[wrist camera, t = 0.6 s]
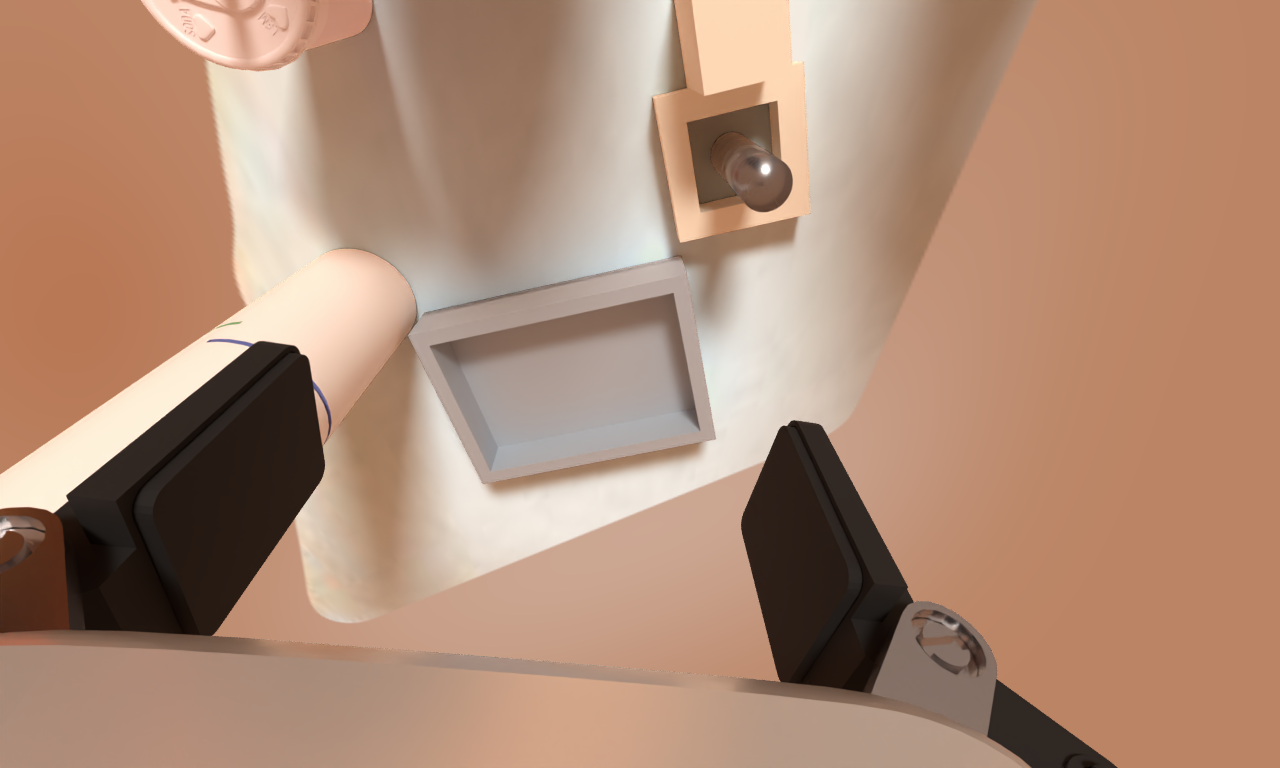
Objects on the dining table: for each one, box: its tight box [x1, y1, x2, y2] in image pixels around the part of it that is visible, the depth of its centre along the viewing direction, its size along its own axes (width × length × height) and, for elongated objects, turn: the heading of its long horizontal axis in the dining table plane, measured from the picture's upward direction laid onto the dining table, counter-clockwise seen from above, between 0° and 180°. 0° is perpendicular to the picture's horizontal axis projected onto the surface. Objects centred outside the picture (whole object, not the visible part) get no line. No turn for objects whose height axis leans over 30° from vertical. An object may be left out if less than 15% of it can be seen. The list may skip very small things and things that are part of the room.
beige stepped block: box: [652, 0, 810, 243], centre depth 28 cm, size 8×12×7 cm, turn 12°
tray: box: [408, 256, 716, 484], centre depth 38 cm, size 18×13×4 cm
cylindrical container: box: [0, 249, 416, 513], centre depth 25 cm, size 7×7×25 cm
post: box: [711, 132, 793, 212], centre depth 28 cm, size 2×2×9 cm
